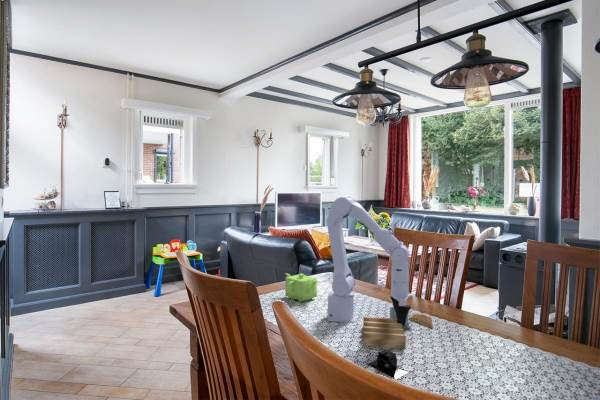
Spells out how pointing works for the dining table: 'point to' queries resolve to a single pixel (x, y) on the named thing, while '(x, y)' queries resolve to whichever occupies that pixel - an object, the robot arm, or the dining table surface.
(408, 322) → the holder
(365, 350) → the dining table surface
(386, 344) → the rack
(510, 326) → the dining table surface
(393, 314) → the plate
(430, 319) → the shard
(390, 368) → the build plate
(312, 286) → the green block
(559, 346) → the dining table surface
